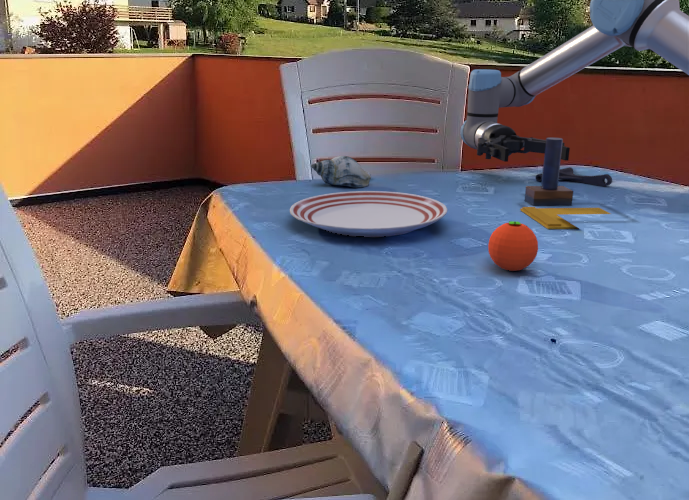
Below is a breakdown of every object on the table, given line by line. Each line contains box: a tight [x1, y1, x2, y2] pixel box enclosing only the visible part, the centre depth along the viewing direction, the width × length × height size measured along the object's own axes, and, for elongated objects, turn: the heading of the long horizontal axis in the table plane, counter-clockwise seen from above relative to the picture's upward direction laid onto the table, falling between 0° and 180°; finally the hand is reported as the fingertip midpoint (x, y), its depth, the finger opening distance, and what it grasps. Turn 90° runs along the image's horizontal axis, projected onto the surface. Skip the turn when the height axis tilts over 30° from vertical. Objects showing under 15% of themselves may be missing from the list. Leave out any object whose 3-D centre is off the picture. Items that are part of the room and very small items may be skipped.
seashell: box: [310, 155, 372, 189], centre depth 156 cm, size 6×8×12 cm
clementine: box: [487, 220, 539, 272], centre depth 101 cm, size 8×7×7 cm
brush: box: [524, 137, 574, 207], centre depth 141 cm, size 8×5×13 cm, turn 96°
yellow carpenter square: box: [520, 206, 612, 230], centre depth 131 cm, size 16×14×1 cm
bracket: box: [535, 167, 613, 187], centre depth 165 cm, size 14×15×3 cm
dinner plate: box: [289, 190, 448, 238], centre depth 124 cm, size 28×27×3 cm
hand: (537, 154), depth 147 cm, fingers open, 13 cm apart
